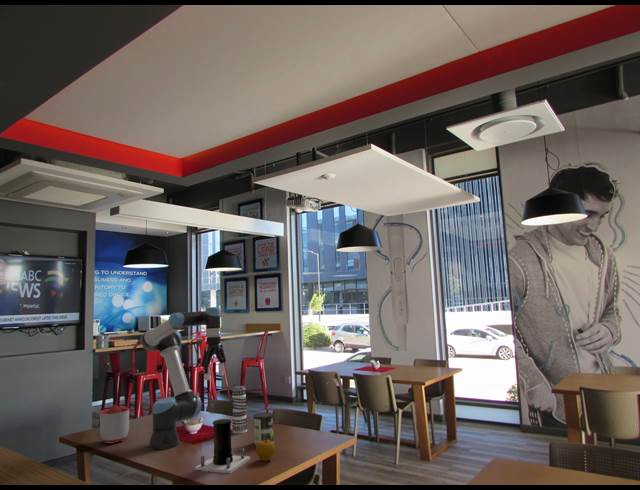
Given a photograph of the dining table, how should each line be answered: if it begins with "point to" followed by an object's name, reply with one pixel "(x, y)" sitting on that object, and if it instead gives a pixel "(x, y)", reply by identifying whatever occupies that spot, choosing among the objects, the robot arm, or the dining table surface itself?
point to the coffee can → (263, 427)
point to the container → (222, 441)
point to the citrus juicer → (114, 424)
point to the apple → (265, 450)
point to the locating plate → (226, 468)
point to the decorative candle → (239, 409)
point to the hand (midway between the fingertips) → (214, 377)
